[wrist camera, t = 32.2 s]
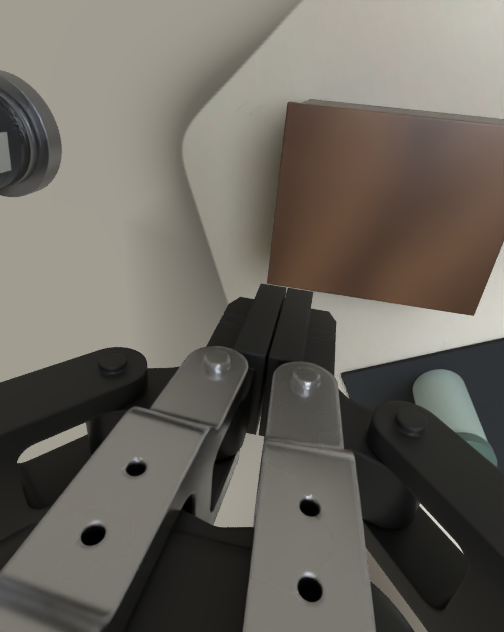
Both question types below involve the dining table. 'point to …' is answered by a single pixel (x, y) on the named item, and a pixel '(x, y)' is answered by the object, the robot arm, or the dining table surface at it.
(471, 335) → the dining table surface
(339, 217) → the chest lid
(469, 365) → the mat
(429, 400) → the canister
